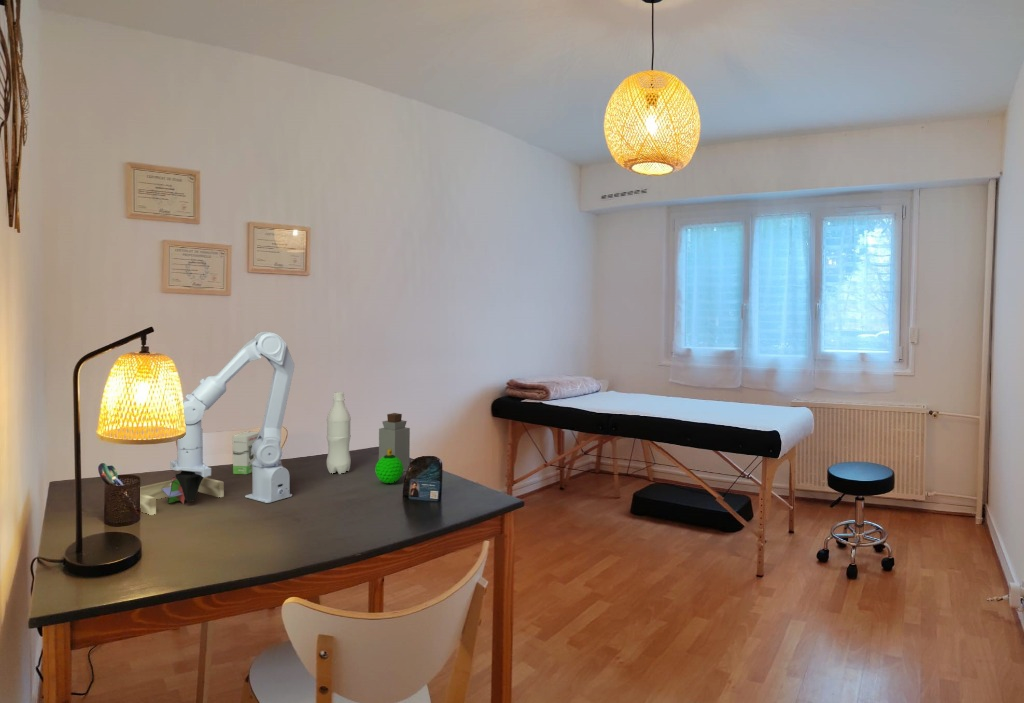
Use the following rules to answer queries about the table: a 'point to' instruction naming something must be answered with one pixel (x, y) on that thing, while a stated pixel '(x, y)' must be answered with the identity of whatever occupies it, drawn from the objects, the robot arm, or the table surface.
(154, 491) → the beige piece
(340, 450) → the water bottle
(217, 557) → the table surface
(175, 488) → the geometric puzzle
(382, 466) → the ornament
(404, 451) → the perfume bottle
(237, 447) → the ink box
